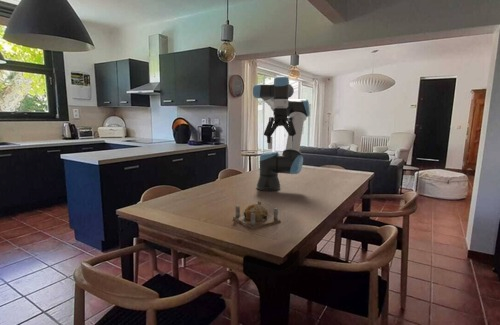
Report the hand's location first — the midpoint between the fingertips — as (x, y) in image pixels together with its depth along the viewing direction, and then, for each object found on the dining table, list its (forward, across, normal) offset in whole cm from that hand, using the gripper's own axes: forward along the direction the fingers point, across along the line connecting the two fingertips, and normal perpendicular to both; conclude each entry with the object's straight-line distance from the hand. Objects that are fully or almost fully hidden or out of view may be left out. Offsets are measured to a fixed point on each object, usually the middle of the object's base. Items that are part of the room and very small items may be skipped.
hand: (280, 148), depth 150 cm
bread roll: (+28, -28, -18) cm, 43 cm away
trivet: (+29, -28, -18) cm, 44 cm away
